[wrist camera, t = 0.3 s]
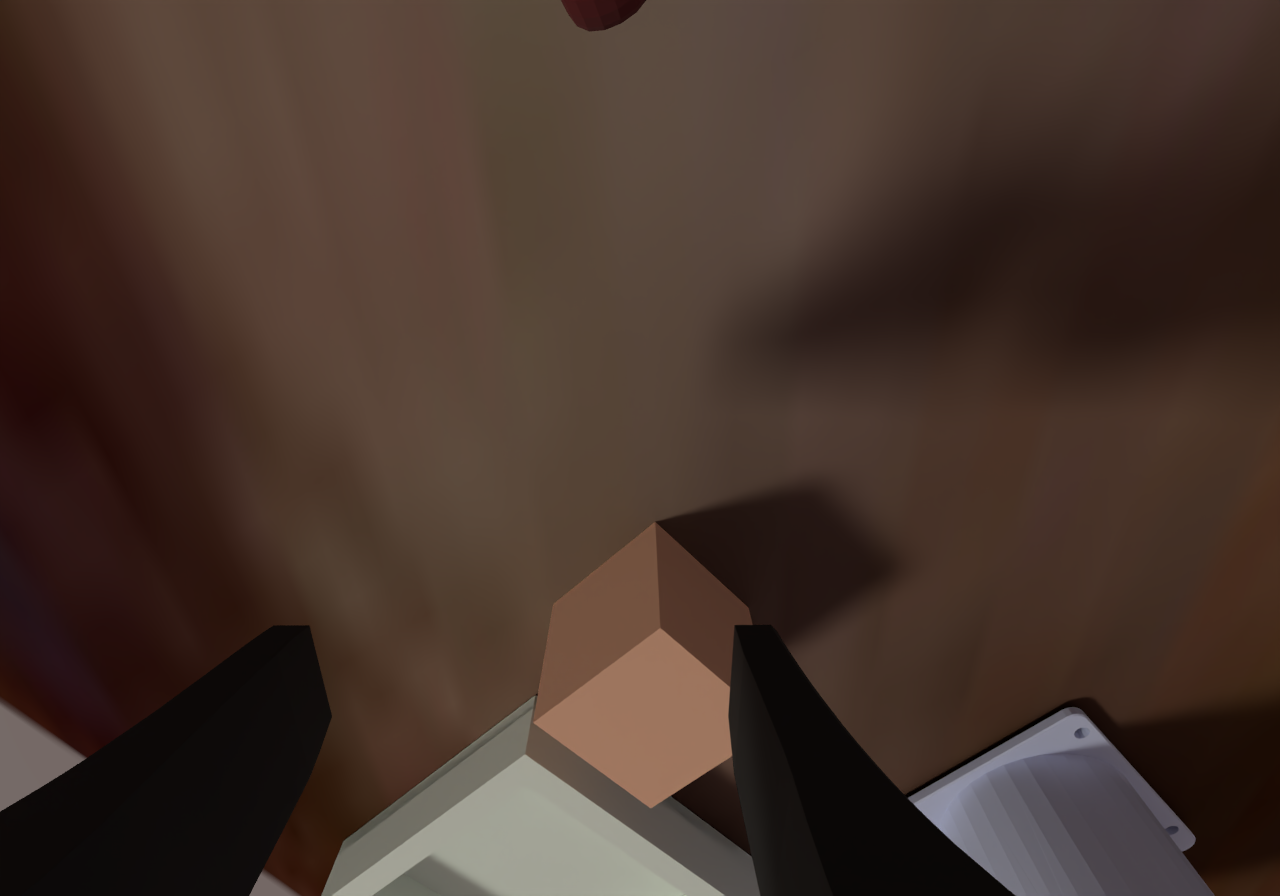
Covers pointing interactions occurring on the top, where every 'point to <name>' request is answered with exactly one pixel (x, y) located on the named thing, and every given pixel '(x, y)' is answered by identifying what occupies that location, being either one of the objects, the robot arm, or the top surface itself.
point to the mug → (600, 12)
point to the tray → (534, 832)
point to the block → (643, 668)
